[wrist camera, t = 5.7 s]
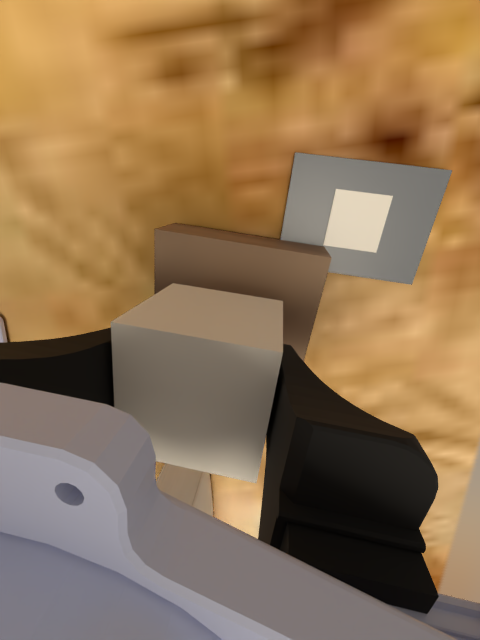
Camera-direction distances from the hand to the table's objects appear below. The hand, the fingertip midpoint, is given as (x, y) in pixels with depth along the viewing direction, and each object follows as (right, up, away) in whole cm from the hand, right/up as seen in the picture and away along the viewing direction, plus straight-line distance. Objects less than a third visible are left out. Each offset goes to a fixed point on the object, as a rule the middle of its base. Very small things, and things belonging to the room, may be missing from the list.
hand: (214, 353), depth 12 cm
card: (+8, +7, +4) cm, 11 cm away
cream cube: (0, 0, +1) cm, 2 cm away
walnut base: (+1, +2, +7) cm, 7 cm away
